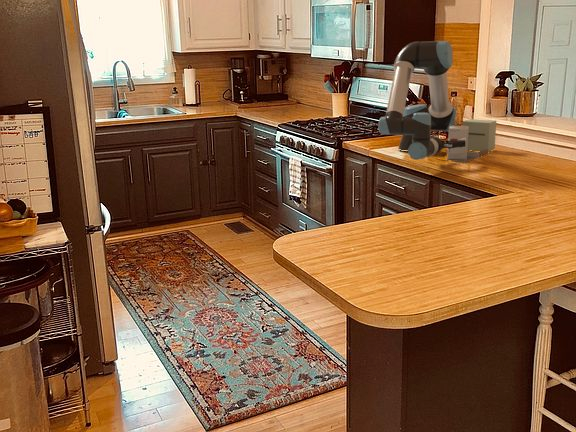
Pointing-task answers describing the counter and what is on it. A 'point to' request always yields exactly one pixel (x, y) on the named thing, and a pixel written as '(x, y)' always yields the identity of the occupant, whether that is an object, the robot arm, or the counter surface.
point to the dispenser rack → (480, 136)
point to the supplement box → (455, 135)
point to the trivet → (462, 160)
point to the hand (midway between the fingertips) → (451, 139)
